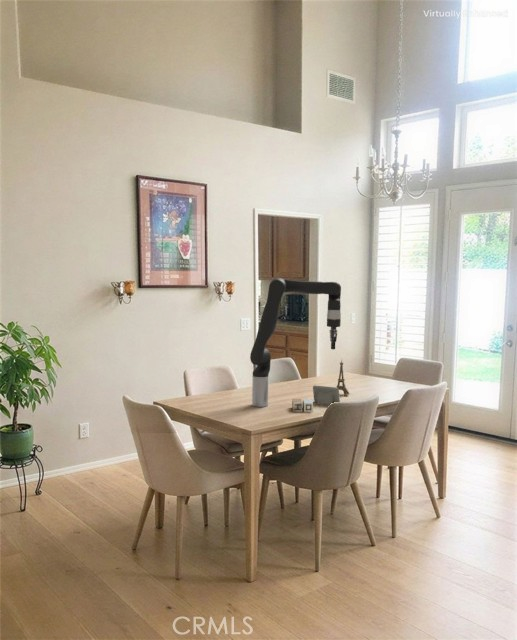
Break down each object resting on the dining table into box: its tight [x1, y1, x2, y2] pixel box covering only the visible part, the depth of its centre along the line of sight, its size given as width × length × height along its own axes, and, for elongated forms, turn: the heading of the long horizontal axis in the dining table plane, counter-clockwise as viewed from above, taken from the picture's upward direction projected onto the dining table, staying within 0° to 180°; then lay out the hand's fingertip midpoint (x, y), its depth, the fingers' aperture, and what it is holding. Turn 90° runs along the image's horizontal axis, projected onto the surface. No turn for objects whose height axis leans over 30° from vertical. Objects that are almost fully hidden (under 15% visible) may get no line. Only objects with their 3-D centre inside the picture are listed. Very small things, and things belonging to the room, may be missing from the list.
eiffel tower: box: [335, 359, 351, 398], centre depth 357 cm, size 11×11×25 cm
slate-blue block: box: [302, 398, 314, 413], centre depth 313 cm, size 5×5×10 cm
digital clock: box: [312, 384, 341, 406], centre depth 329 cm, size 16×9×11 cm, turn 54°
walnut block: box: [291, 398, 303, 412], centre depth 313 cm, size 5×5×10 cm
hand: (333, 349), depth 307 cm, fingers closed
